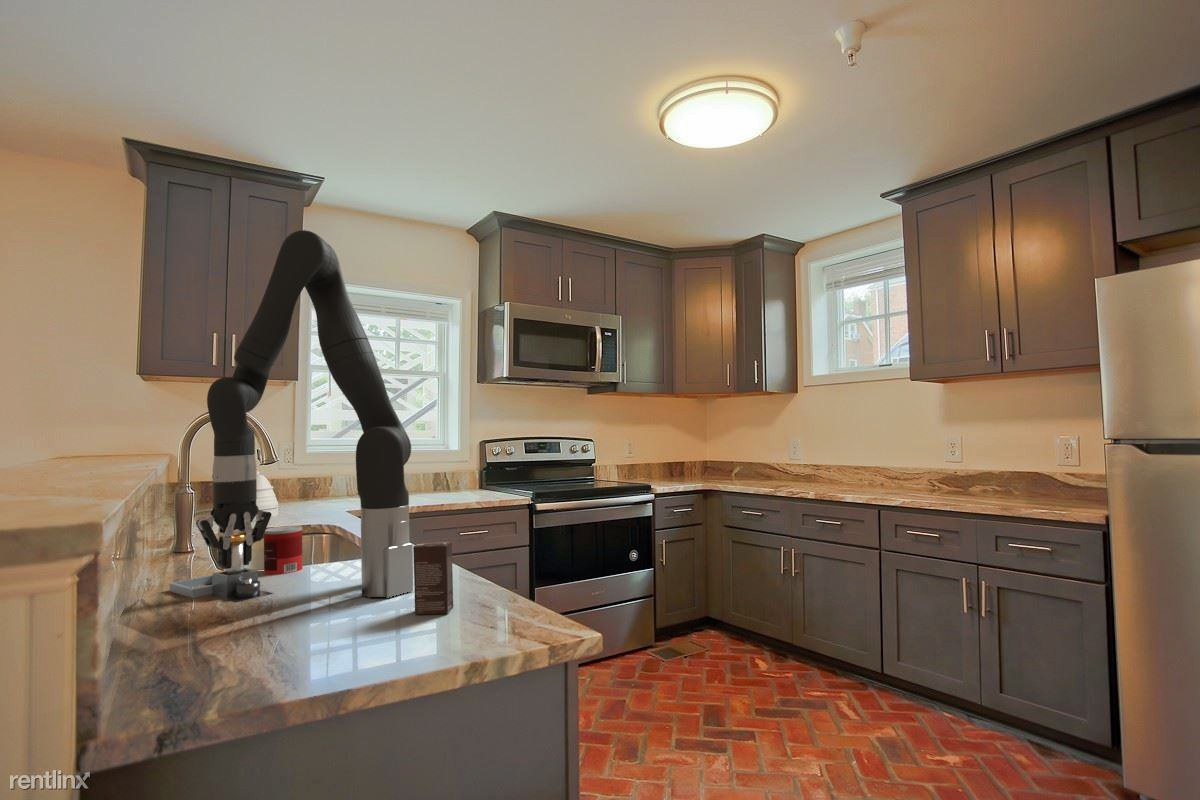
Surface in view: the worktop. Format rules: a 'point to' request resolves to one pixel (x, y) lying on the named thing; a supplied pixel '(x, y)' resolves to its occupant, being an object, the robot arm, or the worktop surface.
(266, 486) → the honey pot
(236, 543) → the lock pin
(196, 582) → the tray
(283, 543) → the canned food
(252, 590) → the pulley bracket
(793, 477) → the worktop surface
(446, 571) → the box
